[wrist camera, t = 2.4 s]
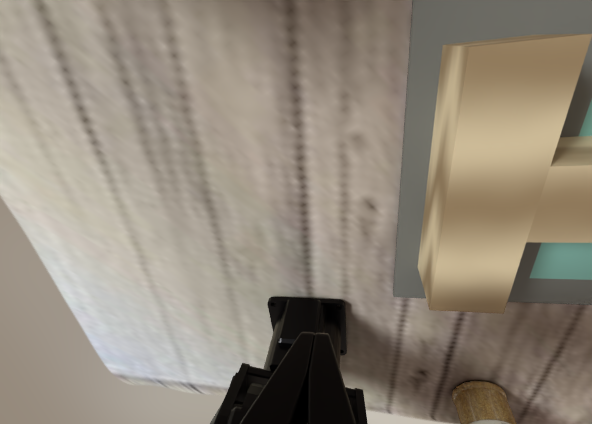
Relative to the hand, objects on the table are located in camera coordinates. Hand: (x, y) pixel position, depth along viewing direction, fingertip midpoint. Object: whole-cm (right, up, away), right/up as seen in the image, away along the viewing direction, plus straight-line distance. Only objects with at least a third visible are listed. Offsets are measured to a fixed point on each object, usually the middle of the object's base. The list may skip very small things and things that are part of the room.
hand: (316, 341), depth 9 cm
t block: (+14, +6, +8) cm, 17 cm away
